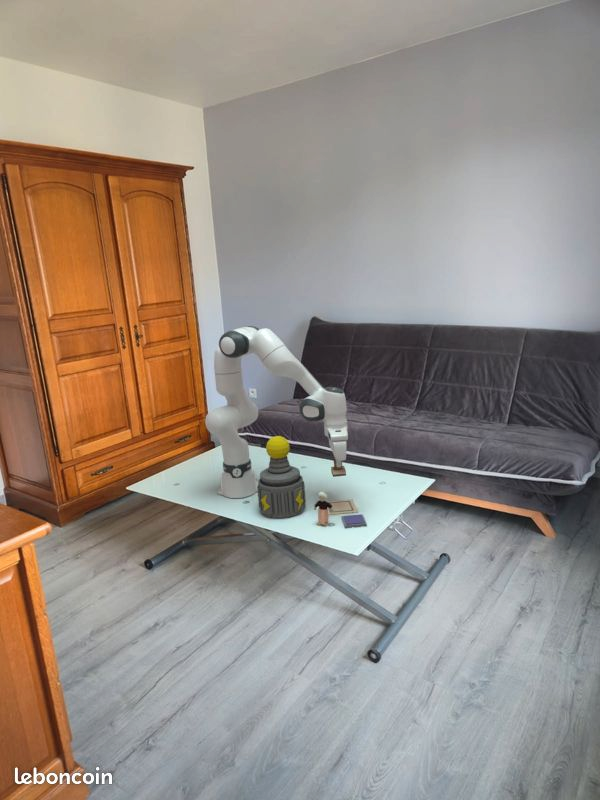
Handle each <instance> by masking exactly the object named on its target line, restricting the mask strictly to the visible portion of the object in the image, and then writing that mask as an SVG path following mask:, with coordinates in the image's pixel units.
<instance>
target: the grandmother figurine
mask: <svg viewBox="0 0 600 800" xmlns="http://www.w3.org/2000/svg"><path fill="white" fill-rule="evenodd" d="M326 499H328V494H327V493H326V492H324V491H320V492H318V501H316V503H314V507H313V511H316V510H317V512H318V514H317V515H318V517H317V522H316V525H317V526H322V525H323V526H324V527H328V526H329V525H330V523H329V515H328V509H327V507H328V508H330V509H331V511H332V512H333V511H334V509H333V507H332V505H331V504H330V503H329V502H327V501H326ZM317 508H318V509H317Z"/></svg>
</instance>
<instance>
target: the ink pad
mask: <svg viewBox="0 0 600 800" xmlns="http://www.w3.org/2000/svg"><path fill="white" fill-rule="evenodd" d="M341 521H342V524H343V527H344V529H352V527H354V528H362V527H361V526H364V527H367V526H368V523H367V521H366V518H365V517H364V514H362V513H361V514H359V513H358V514H350V515H342V516H341Z"/></svg>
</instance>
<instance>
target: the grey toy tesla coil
mask: <svg viewBox="0 0 600 800" xmlns="http://www.w3.org/2000/svg"><path fill="white" fill-rule="evenodd" d="M265 448H266V449H265V450H266V453H267V456H269V463H268V467H267V468H265V469H263V470H261V472H260V474H259V477H260V478H259V479H257V481H258V486H257V490H258V492H257V500H258V507H259V510H260V513H262V515H264V516H266V517H268V518H271V519H287V518H292V517H296V516H297V514H298V515H299V514H300V513H302V512H303V511H304V509H305V507H306V490H305V481H304V479H303V476H302V475H301V472H300V471H301V470H300V469H299V468H298V467H296V466H294V465H293V466H292V465H291V464H290V462H289V458H288V455H289V453H290V449H291V448H290V443H289V441H288V440H287V439H286V438H285V437H284V436H281V435H276V436H275V435H274V436H273V437H271V438H269V440H268V441H267V443H266V444H265Z"/></svg>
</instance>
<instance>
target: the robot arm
mask: <svg viewBox="0 0 600 800" xmlns="http://www.w3.org/2000/svg"><path fill="white" fill-rule="evenodd" d="M250 354H255V356H257V357H258V359H259V360H260V361H261V362H262V364H263V366H264V367H265V368H266V369H267V370H268V371H269V372H270V373H271V374H272V375H274V376H276V377H284V378H285V377H286V378H289V379H292V380H294V381H296V382H297V383H298V384H299V385H300V387H302V389H303V390H305V392H306V393H307V394H308V395H309V396H307V397H305V398H304V399H302V400H301V402H300V403H299V408H298V409H299V414H300V415H301V418H303V420H305V421H307V422H318V421H323V427H324V428H323V429H324V430H323V431H324V436H325V437H327V439H328V444H329V447H330V450H331V452H332V453H333V458H334V457H335V459H336V466H337V467H341V461H342V462H343V461H346V459H347V441H348V439H349V431H348V430H349V429H348V428H349V427H348V426H349V425H348V419H347V411H348V409H347V399H346V398H347V397H346V395H345V394H346V393H345V392H344V390H342V389H341V388H339V387H336V386H327V387H325V386H324V385H322V383H320V381H319V380H318V379H317V378H316V377H315V375H313V374H312V372H310V370H309V369H308V368H307V366H305V365H304V364H303V363H302V362H301V361H300V360H299V359H297V358H296V357H295V356H294V354H293V353H292V352H291V351H290V350H289V349H288V348H287V346H286V344H285V343H284V342H283V341H282V340H281V339H280V338H279V337H278V336H277V334H276V333H274V332H273V331H272V330H271V329H270V328H266V327H265V328H259V327H256V326H253V325H252V326H251V325H250V326H243V327H237V328H235V329H232V330H228V331H226V332H224V333H223V334H222V335H221V336H220V338H219V340H218V347H217V348H215V351H214V355H213V356H214V358H213V359H214V360H213V365H214V366H213V369H214V378H215V379H214V381H215V388H216V389H215V391H217V393H218V394H219V395H221V396H223V397H225V400H226V405H224V406H220V407H217V408H214V409H213V410H211V411H210V412H208V413H207V414H206V416H205V419H204V420H205V421H204V422H205V428H206V429H207V431H208V432H209V433H210V434H212V435H214V436H215V437H216V438H217V440H218V441H219V443H220V447H221V449H222V450H221V451H222V458H223V461H222V468H223V473H221V475H220V485H221V486H220V488H219V489H218V490H217V495H219V496H224V497H226V498H231V499H241V498H242V499H243V498H247V497H250V496H252V495H254V494H255V493H258V490H257V486H258V479H257V477H256V471H254V470H253V468H252V461H251V458H250V448H249V443H248V440H246V439H245V438H243V437H241V436H240V435H239V429H242V428H244V427H248V426H250V425H252V424H253V423H255V421H257V420H258V417H259V409H258V406H257V405H256V403H255V402H253V400H251V399H250V398H249V397H248V395H247V393H246V392H245V391H246V390H245V386H244V381H243V380H244V379H243V371H242V358H243V357H245V356H248V355H250Z"/></svg>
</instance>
